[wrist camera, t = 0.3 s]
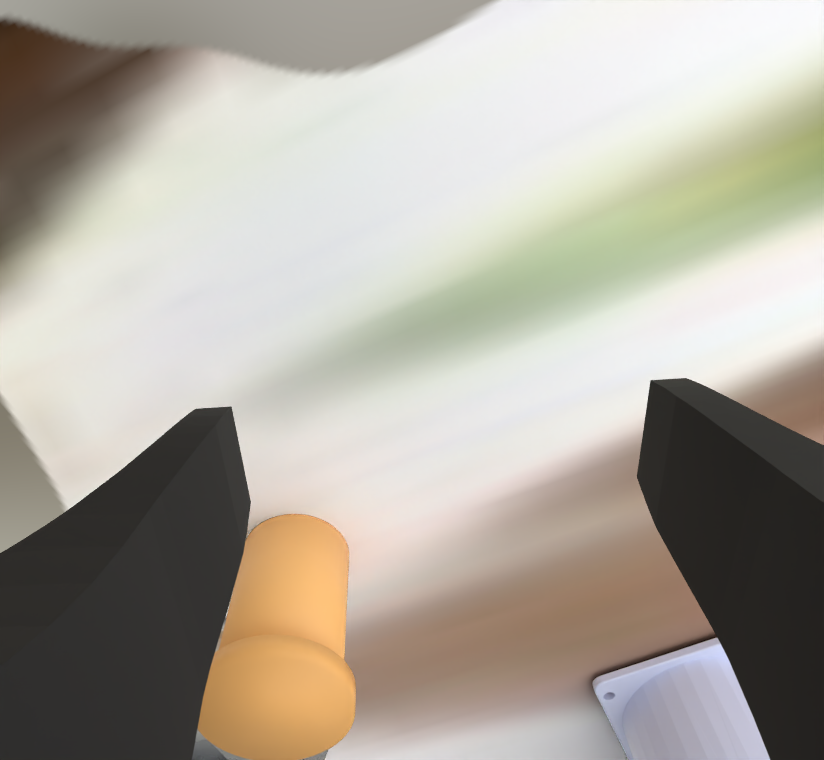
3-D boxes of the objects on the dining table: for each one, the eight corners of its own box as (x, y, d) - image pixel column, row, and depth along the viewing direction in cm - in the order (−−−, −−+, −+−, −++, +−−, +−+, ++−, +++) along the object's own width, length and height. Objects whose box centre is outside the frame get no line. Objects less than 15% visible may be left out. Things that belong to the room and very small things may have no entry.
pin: (380, 574, 26) (382, 733, 21) (273, 615, 27) (246, 778, 21) (322, 487, 24) (306, 636, 18) (207, 533, 25) (157, 690, 19)
